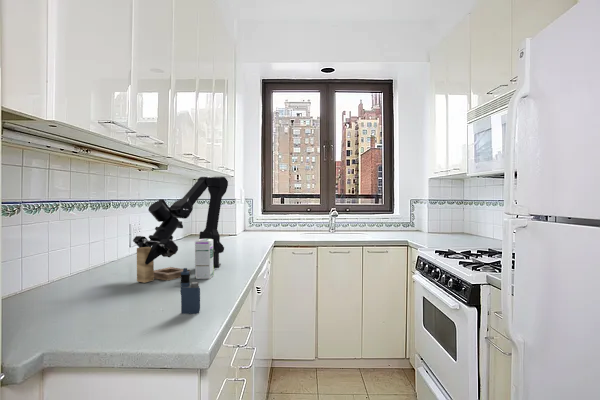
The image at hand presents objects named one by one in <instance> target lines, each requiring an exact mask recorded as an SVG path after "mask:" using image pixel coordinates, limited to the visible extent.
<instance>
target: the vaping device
mask: <svg viewBox="0 0 600 400" xmlns="http://www.w3.org/2000/svg"><path fill="white" fill-rule="evenodd" d="M182 269H183V271H182V272H181V278H180V290H179V291H180V296H181V297H180V303H181V304H180V310H181V311H180V314H183V315H197V314H199V313H200V312H201V288H200V285H199V282H198V281H192V282H191V279H190V278H191V270H190V271H187V270H188V268H187V267H184V268H182Z"/></svg>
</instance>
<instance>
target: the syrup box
mask: <svg viewBox="0 0 600 400" xmlns="http://www.w3.org/2000/svg"><path fill="white" fill-rule="evenodd" d="M194 263H195V264H194V265H195V266H194V267H195V269H194V270H195V271H194V272H195V273H194V274H195V279H196V280H198V279H199V280H211V278H213V277H214V275H215V270H214V269H215V267H214V256H213V239H199V238H198V240H195V241H194Z"/></svg>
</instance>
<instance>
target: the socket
mask: <svg viewBox="0 0 600 400" xmlns="http://www.w3.org/2000/svg"><path fill="white" fill-rule="evenodd" d="M182 271H183V268H178V267H174V266H169V267H164V268H158V269H155V270H154V280H162V281H171V280H176V279H181V272H182ZM187 271H190V272H191V269H187Z"/></svg>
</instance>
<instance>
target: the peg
mask: <svg viewBox="0 0 600 400" xmlns="http://www.w3.org/2000/svg"><path fill="white" fill-rule="evenodd" d="M151 248H152V246H151V247H141V248H139V247H137V248H136V282H140V283H149V282H152V281H155V278H154V268H155V267H154V263H155V262H154V260H155V259H154V260H153V261H152V262H150V263H149V264H148V265H147V264H145V261H146V259H147V256H148V254H149V252H150V250H151Z"/></svg>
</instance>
